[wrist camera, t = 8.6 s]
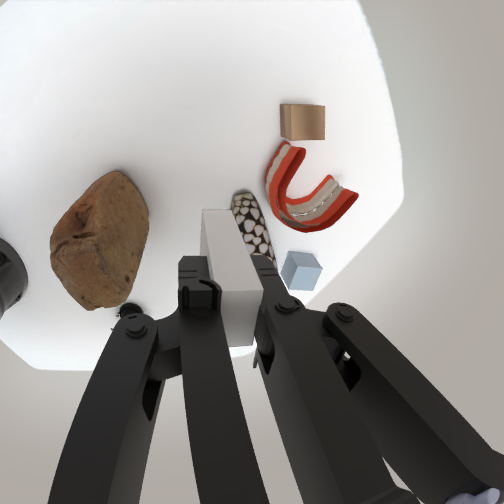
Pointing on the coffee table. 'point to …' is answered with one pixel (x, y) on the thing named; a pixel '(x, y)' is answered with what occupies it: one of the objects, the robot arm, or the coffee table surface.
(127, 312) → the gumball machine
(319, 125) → the walnut block
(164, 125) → the coffee table surface
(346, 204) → the toy
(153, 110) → the coffee table surface
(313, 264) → the slate block
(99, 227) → the brown rock
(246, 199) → the seashell
